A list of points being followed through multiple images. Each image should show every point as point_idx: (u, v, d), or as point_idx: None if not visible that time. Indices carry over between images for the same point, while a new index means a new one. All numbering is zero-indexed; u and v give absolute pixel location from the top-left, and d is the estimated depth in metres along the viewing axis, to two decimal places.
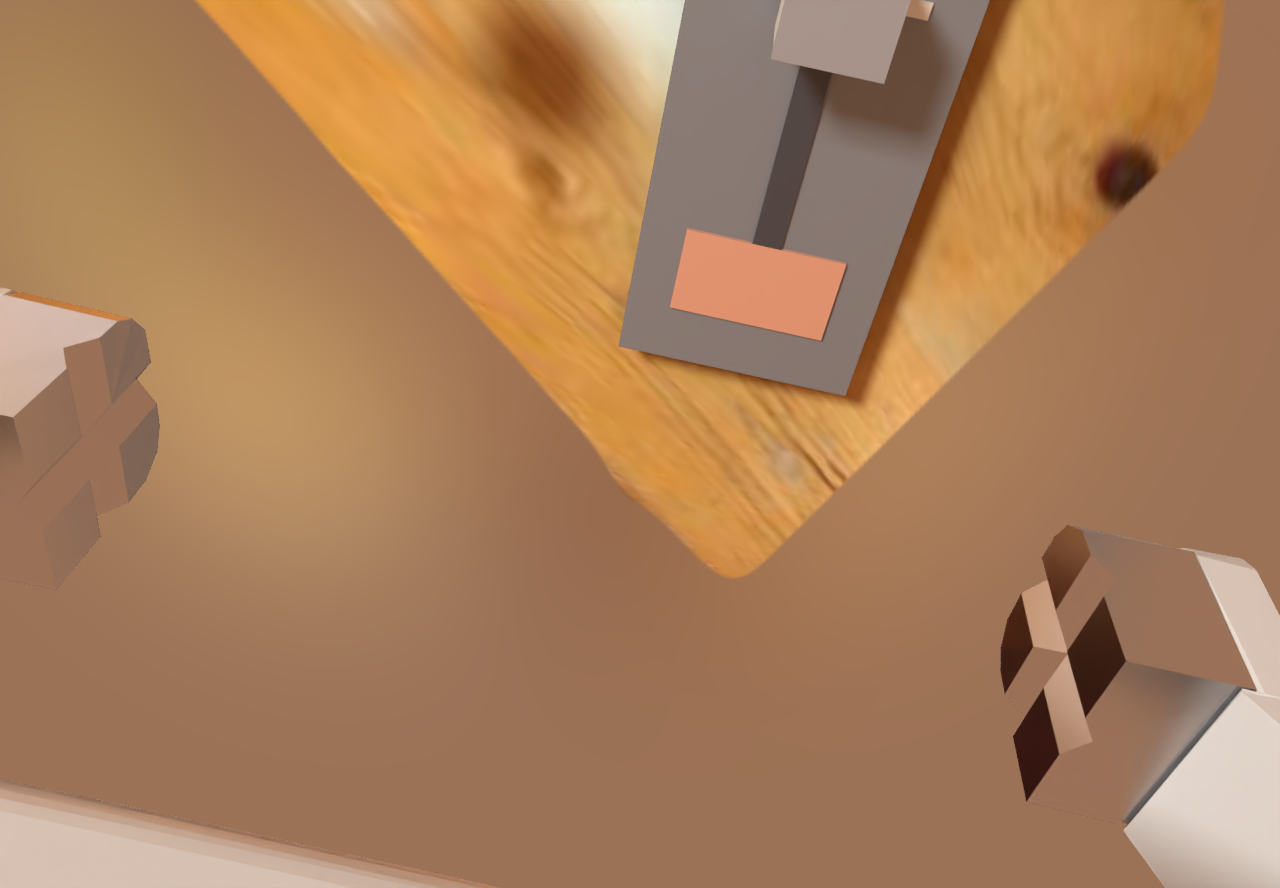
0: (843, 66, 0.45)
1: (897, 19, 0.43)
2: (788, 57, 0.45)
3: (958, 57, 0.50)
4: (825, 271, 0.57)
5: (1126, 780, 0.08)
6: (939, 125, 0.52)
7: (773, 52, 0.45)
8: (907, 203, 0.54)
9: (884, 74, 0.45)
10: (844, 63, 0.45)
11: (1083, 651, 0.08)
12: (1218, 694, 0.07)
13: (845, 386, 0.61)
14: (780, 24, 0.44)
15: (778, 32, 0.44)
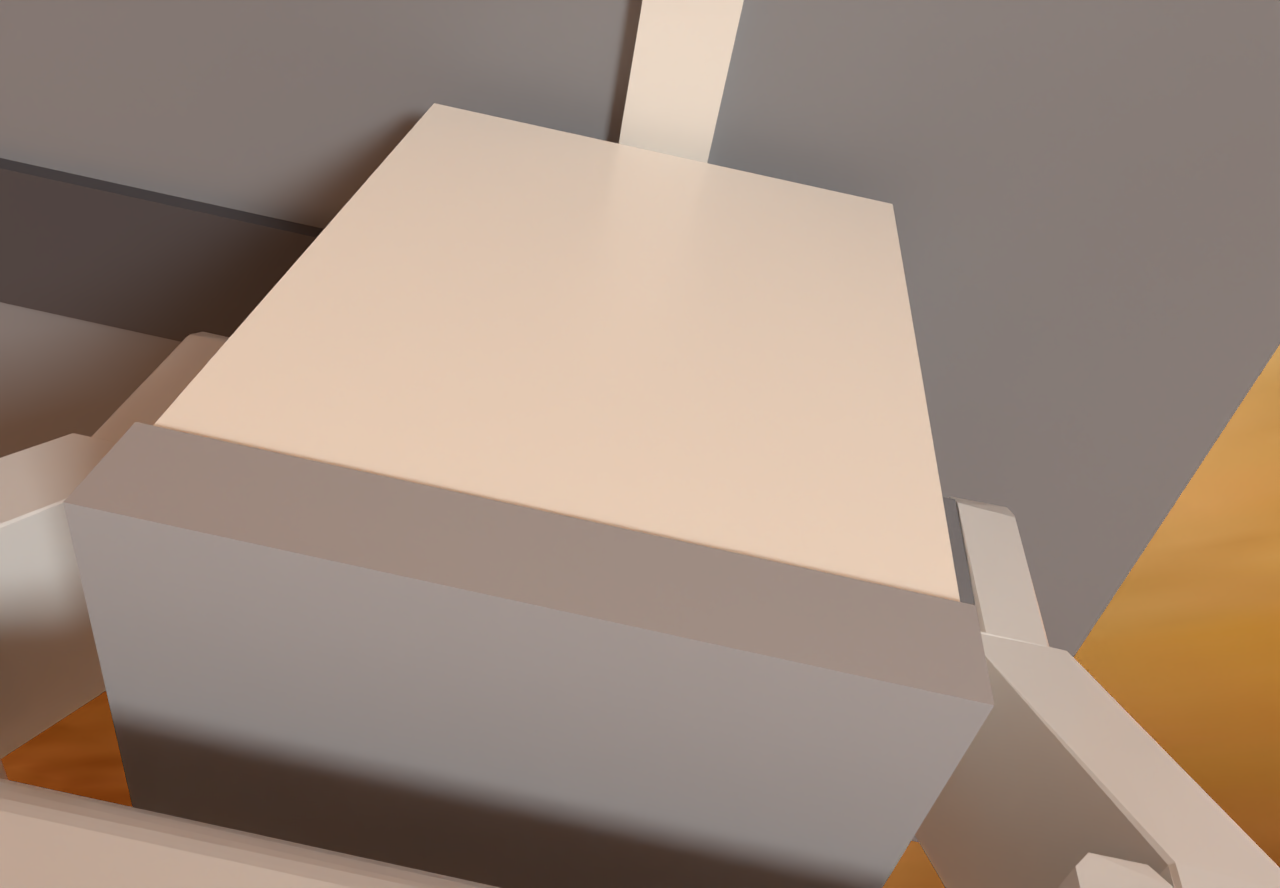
0: None
1: None
2: (141, 627, 0.05)
3: None
4: None
5: None
6: None
7: (132, 521, 0.04)
8: None
9: None
10: None
11: None
12: None
13: None
14: (402, 579, 0.04)
15: (326, 562, 0.04)
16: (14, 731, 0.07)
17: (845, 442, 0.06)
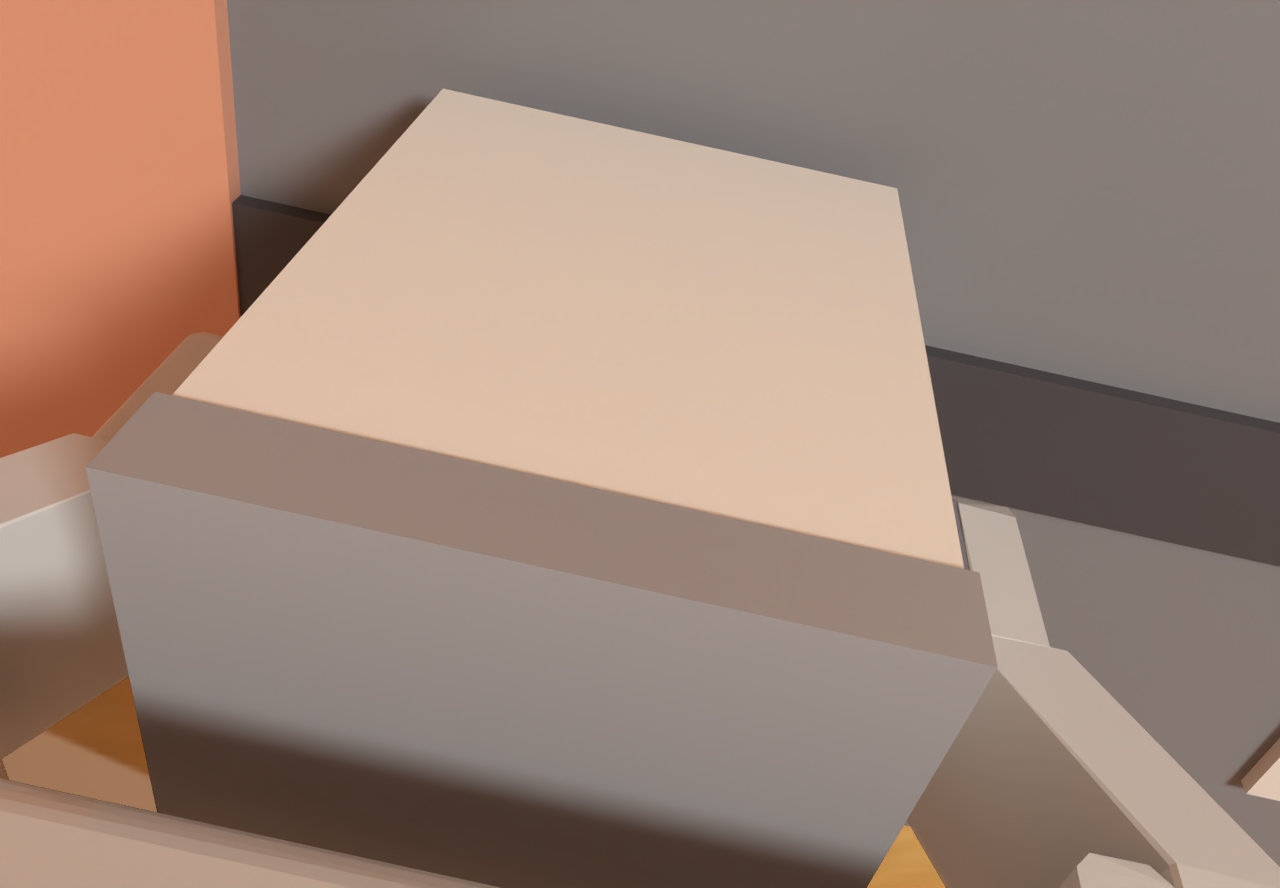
0: None
1: None
2: (158, 593, 0.05)
3: None
4: None
5: None
6: None
7: (153, 486, 0.05)
8: None
9: None
10: None
11: None
12: None
13: None
14: (417, 543, 0.05)
15: (343, 526, 0.05)
16: (14, 731, 0.07)
17: (850, 416, 0.06)
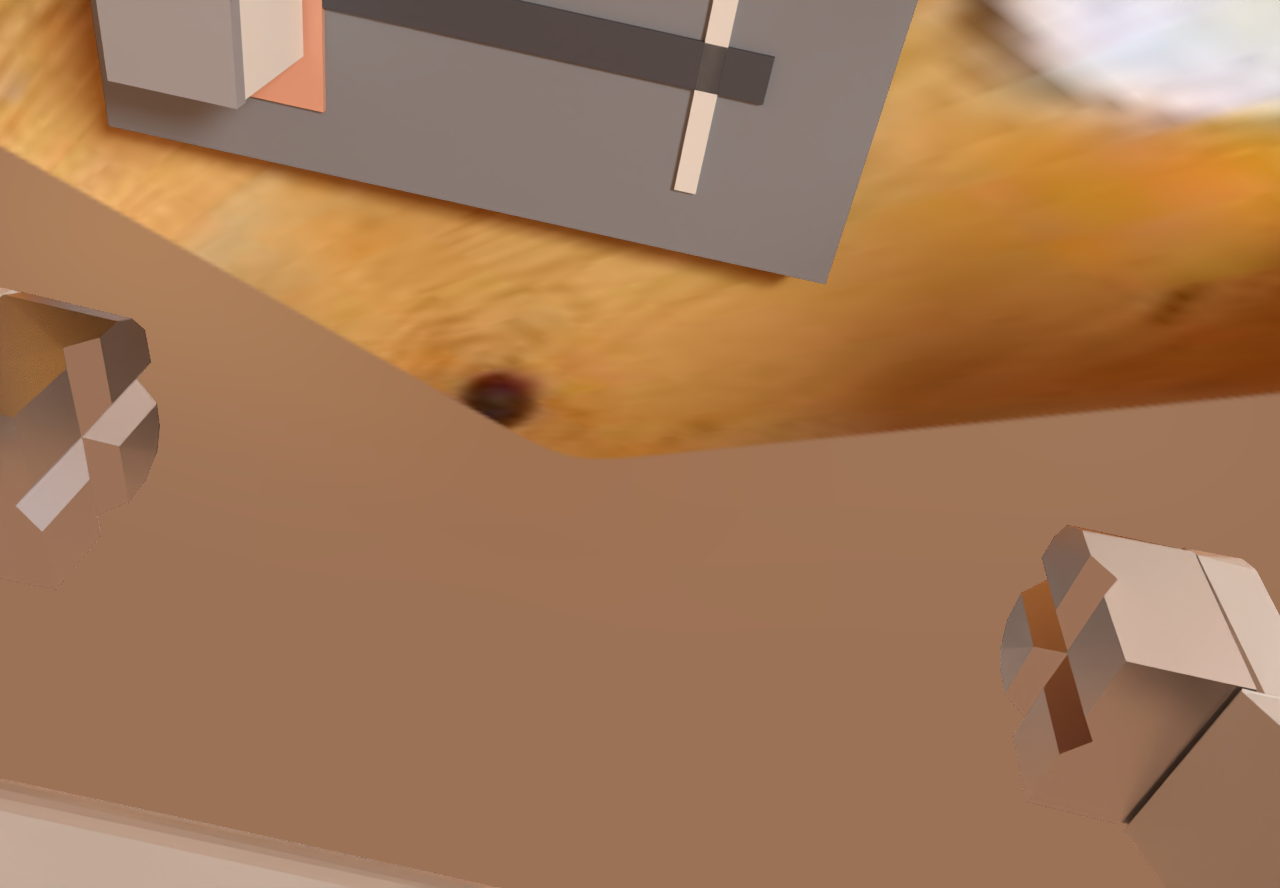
0: (110, 18, 0.31)
1: (192, 90, 0.32)
2: None
3: (629, 229, 0.39)
4: (305, 82, 0.37)
5: (1126, 780, 0.08)
6: (542, 216, 0.39)
7: None
8: (431, 187, 0.39)
9: (119, 79, 0.32)
10: (114, 19, 0.31)
11: (1082, 649, 0.08)
12: (1218, 694, 0.07)
13: (125, 125, 0.39)
14: None
15: None
16: None
17: None
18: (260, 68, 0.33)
